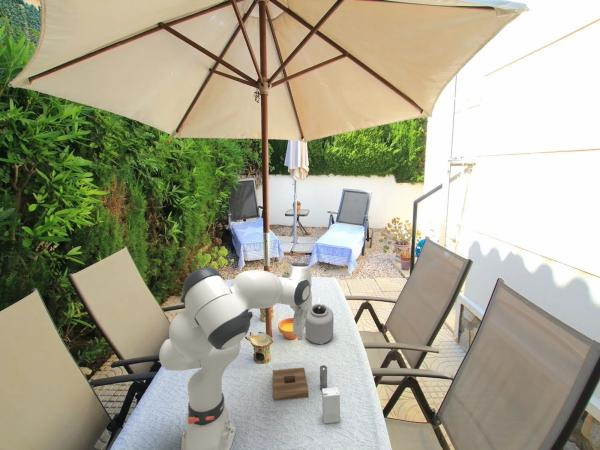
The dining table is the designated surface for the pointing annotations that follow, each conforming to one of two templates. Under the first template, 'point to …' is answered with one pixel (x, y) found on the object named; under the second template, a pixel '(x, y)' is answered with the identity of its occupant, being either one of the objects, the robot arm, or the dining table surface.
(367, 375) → the dining table surface
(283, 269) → the flower in vase
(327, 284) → the dining table surface
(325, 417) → the skincare box
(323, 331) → the jar
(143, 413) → the dining table surface
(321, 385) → the peg
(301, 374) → the socket block
